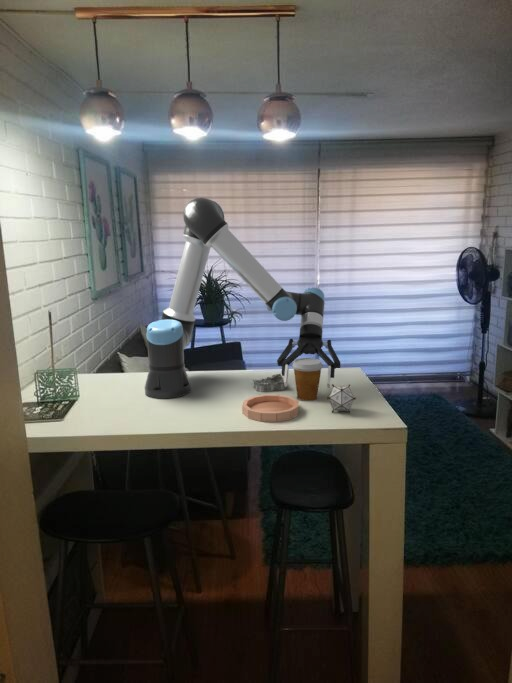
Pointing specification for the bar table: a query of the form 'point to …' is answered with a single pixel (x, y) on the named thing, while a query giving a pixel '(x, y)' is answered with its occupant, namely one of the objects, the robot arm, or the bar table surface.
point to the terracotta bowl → (270, 408)
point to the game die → (341, 398)
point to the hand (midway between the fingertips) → (306, 385)
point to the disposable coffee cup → (307, 377)
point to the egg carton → (269, 383)
